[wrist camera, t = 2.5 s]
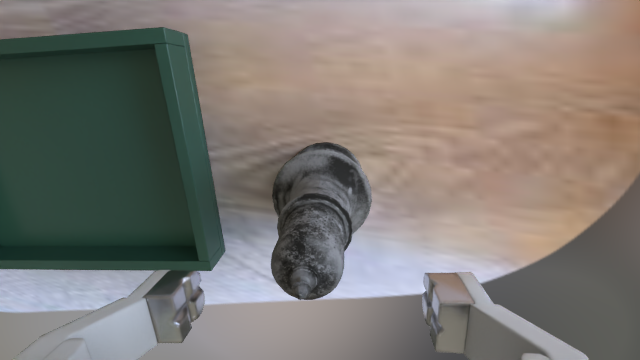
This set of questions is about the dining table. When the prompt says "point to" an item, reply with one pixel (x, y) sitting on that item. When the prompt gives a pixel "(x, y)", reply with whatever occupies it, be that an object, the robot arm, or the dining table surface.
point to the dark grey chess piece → (317, 218)
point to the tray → (104, 155)
